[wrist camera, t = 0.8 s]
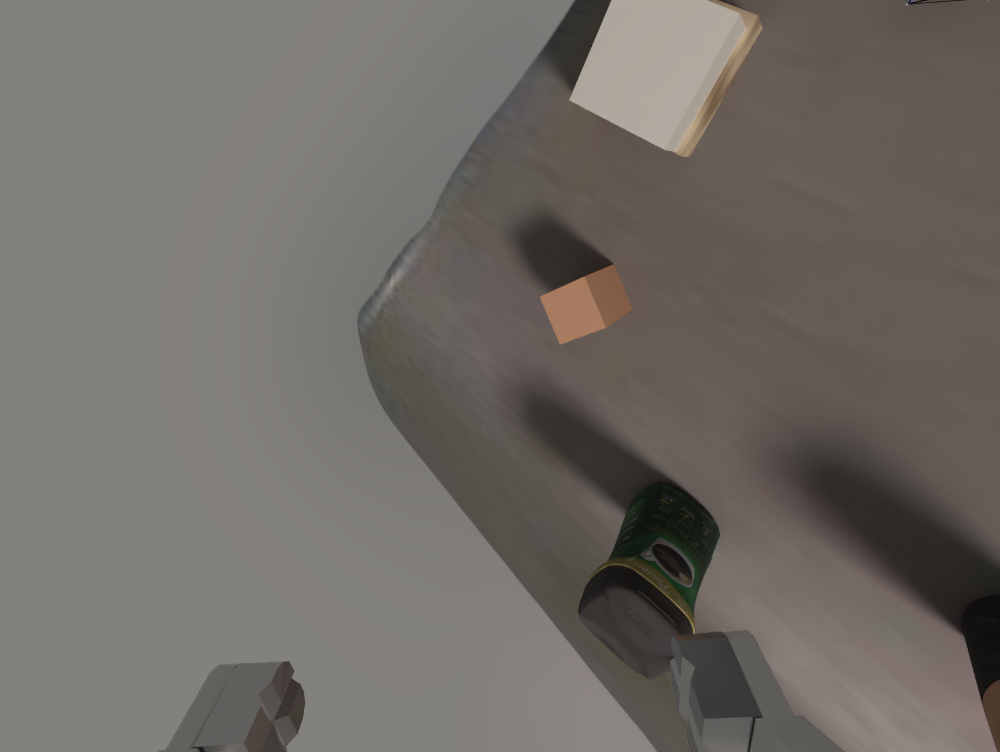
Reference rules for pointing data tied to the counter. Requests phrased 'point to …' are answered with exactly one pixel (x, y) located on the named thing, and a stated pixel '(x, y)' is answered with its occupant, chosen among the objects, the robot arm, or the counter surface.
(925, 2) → the geometric puzzle
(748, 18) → the tower base
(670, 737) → the counter surface
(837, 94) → the counter surface
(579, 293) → the pillar
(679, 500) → the coffee jar
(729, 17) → the tower top
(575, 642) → the counter surface
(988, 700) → the travel mug
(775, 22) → the counter surface
